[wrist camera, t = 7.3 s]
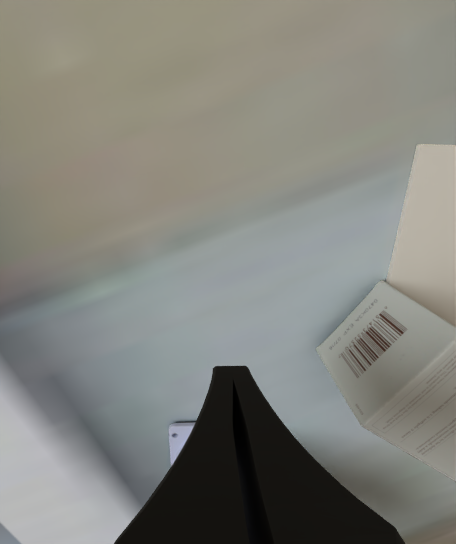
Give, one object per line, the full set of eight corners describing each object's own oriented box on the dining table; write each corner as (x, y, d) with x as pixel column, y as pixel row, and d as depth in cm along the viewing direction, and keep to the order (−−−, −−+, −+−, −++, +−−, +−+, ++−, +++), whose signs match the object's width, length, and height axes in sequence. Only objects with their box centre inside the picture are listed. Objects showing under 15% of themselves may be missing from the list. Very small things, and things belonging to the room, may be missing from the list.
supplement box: (311, 348, 22) (415, 416, 25) (359, 429, 15) (496, 510, 18) (379, 275, 20) (482, 357, 23) (469, 327, 13) (600, 436, 16)
